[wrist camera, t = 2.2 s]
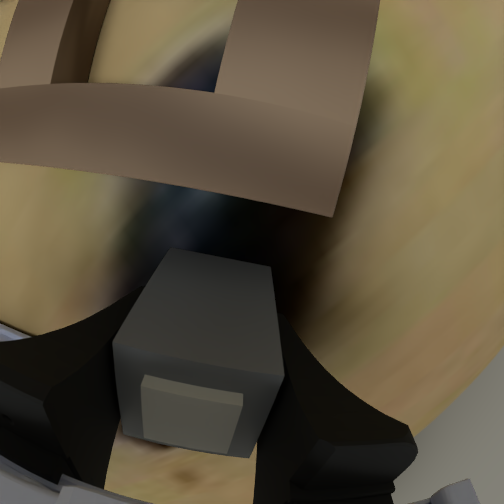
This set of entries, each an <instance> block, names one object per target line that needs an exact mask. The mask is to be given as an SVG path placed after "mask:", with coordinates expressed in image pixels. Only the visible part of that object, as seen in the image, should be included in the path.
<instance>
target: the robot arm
mask: <svg viewBox="0 0 504 504" xmlns="http://www.w3.org/2000/svg"><path fill="white" fill-rule="evenodd" d="M144 288H145V287H143V286H141V287H139V288H138V289H136V290H134V291H133V292H131V293H130V294H128V295H127V296H125V297H123V298H122V299H120V300H119V301H117V302H115V303H114V304H112V305H110V306H109V307H107V308H105V309H103V310H101V311H99V312H98V313H96V314H94V315H92V316H90V317H88V318H86V319H84V320H82V321H80V322H77V323H75V324H72V325H70V326H67V327H65V328H62V329H59V330H55V331H52V332H49V333H46V334H42V335H38V336H34V337H30V336H28V335H26V334H23V333H21V332H18V331H16V330H14V329H12V328H9V327H7V326H5V325H3V324H0V504H153V503H148V502H144V501H141V500H137V499H133V498H129V497H126V496H123V495H119V494H116V493H113V492H110V491H107V490H104V485H105V479H106V474H107V469H108V464H109V460H110V455H111V451H112V447H113V443H114V439H115V435H116V432H117V428H118V424H119V421H120V418H121V416H120V409H119V402H118V394H117V386H116V377H115V368H114V357H113V344H112V342H113V340H114V338H115V336H116V335H117V333H118V331H119V329H120V328H121V326H122V324H123V323H124V321H125V319H126V318H127V316H128V314H129V312H130V311H131V309H132V307H133V306H134V304H135V302H136V301H137V299H138V298H139V296H140V294H141V293H142V291H143V289H144ZM277 319H278V327H279V335H280V343H281V351H282V359H283V367H284V378H283V381H282V383H281V386H280V388H279V391H278V393H277V396H276V398H275V400H274V403H273V405H272V408H271V410H270V412H269V415H268V417H267V419H266V422H265V424H264V426H263V429H262V431H261V433H260V435H259V438H258V440H257V457H256V474H255V487H254V499H253V504H394V503H393V500H392V497H391V493H393V492H394V491H395V486H394V483H393V481H394V480H395V479H396V478H397V477H398V476H399V475H400V474H401V473H402V472H403V471H405V470H406V469H407V468H408V467H409V466H410V465H411V463H412V462H413V461H414V460H415V457H416V456H417V453H418V449H417V445H416V443H415V441H414V438H413V436H412V433H411V431H410V429H409V427H408V425H406V424H404V423H402V422H400V421H398V420H396V419H394V418H392V417H389V416H387V415H385V414H384V413H382V412H380V411H378V410H377V409H375V408H373V407H372V406H370V405H369V404H367V403H366V402H364V401H363V400H361V399H360V398H358V397H357V396H356V395H354V394H353V393H352V392H350V391H349V390H348V389H347V388H345V387H344V386H343V385H342V384H341V383H339V382H338V381H337V380H336V379H335V378H334V377H333V376H332V375H331V374H330V373H329V372H328V371H327V370H326V369H325V368H324V367H323V366H322V365H321V364H320V363H319V362H318V361H317V359H316V358H315V357H314V356H313V355H312V354H311V352H310V351H309V350H308V349H307V347H306V346H305V345H304V343H303V342H302V341H301V339H300V338H299V337H298V335H297V334H296V332H295V331H294V329H293V328H292V326H291V325H290V323H289V322H288V321H287V319H286V318H285V316H284V315H283V314H281V313H277ZM409 504H480V502H479V500H478V497H477V495H476V492H475V490H474V488H473V485H472V483H471V481H470V479H465V480H462V481H459V482H456V483H453V484H450V485H447V486H445V487H443V488H441V489H440V490H438V491H437V492H436V493H435V494H433V495H432V496H431V498H428V499H425V500H421V501H417V502H413V503H409Z"/></svg>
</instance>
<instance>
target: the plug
mask: <svg viewBox="0 0 504 504" xmlns="http://www.w3.org/2000/svg"><path fill="white" fill-rule="evenodd" d="M112 344H113V357H114V368H115V377H116V386H117V394H118V402H119V409H120V416H121V422H122V428H123V434H125V435H129V436H132V437H136V438H140V439H143V440H147V441H151V442H155V443H160V444H164V445H168V446H173V447H178V448H183V449H188V450H193V451H199V452H205V453H211V454H218V455H225V456H233V457H242V458H249V457H250V455H251V453H252V451H253V449H254V446H255V444H256V442H257V440H258V438H259V435H260V433H261V431H262V429H263V426H264V424H265V422H266V419H267V417H268V415H269V412H270V410H271V408H272V405H273V403H274V400H275V398H276V396H277V393H278V391H279V388H280V386H281V383H282V381H283V378H284V367H283V359H282V351H281V343H280V335H279V327H278V319H277V311H276V303H275V295H274V288H273V280H272V272H271V267H269V266H264V265H259V264H254V263H248V262H243V261H238V260H233V259H228V258H223V257H218V256H212V255H207V254H202V253H197V252H192V251H187V250H182V249H177V248H172V247H170V249H169V250H168V252H167V253H166V255H165V256H164V258H163V259H162V261H161V262H160V264H159V266H158V267H157V269H156V270H155V272H154V273H153V275H152V277H151V278H150V280H149V281H148V283H147V285H146V286H145V288H144V289H143V291H142V293H141V294H140V296H139V298H138V299H137V301H136V302H135V304H134V306H133V307H132V309H131V311H130V312H129V314H128V316H127V318H126V319H125V321H124V323H123V324H122V326H121V328H120V329H119V331H118V333H117V335H116V336H115V338H114V340H113V342H112Z"/></svg>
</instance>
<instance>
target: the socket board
mask: <svg viewBox="0 0 504 504" xmlns="http://www.w3.org/2000/svg"><path fill="white" fill-rule="evenodd" d="M109 2H110V0H19V2H18V4H17V7H16V10H15V13H14V15H13V18H12V21H11V25H10V28H9V31H8V34H7V38H6V41H5V45H4V49H3V53H2V57H1V61H0V162H6V163H17V164H27V165H37V166H46V167H54V168H63V169H71V170H79V171H86V172H94V173H101V174H108V175H115V176H122V177H128V178H135V179H141V180H148V181H154V182H160V183H166V184H172V185H177V186H183V187H189V188H194V189H200V190H205V191H210V192H216V193H221V194H226V195H231V196H236V197H241V198H246V199H251V200H256V201H261V202H266V203H270V204H275V205H280V206H284V207H289V208H293V209H298V210H302V211H307V212H311V213H315V214H320V215H324V216H328V217H333V214H334V210H335V206H336V203H337V199H338V196H339V192H340V188H341V185H342V181H343V177H344V173H345V170H346V166H347V162H348V158H349V154H350V150H351V146H352V142H353V137H354V133H355V129H356V125H357V120H358V116H359V112H360V107H361V103H362V98H363V93H364V88H365V84H366V79H367V74H368V69H369V63H370V58H371V53H372V47H373V42H374V36H375V30H376V24H377V17H378V11H379V4H380V0H238V2H237V6H236V9H235V13H234V16H233V20H232V24H231V27H230V31H229V35H228V39H227V43H226V47H225V50H224V54H223V58H222V63H221V67H220V71H219V75H218V79H217V84H216V88H215V92H214V93H211V92H205V91H197V90H190V89H182V88H172V87H162V86H151V85H137V84H117V83H87V82H88V77H89V72H90V68H91V64H92V59H93V55H94V51H95V48H96V44H97V40H98V37H99V33H100V30H101V26H102V23H103V20H104V17H105V14H106V11H107V8H108V5H109Z"/></svg>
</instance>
